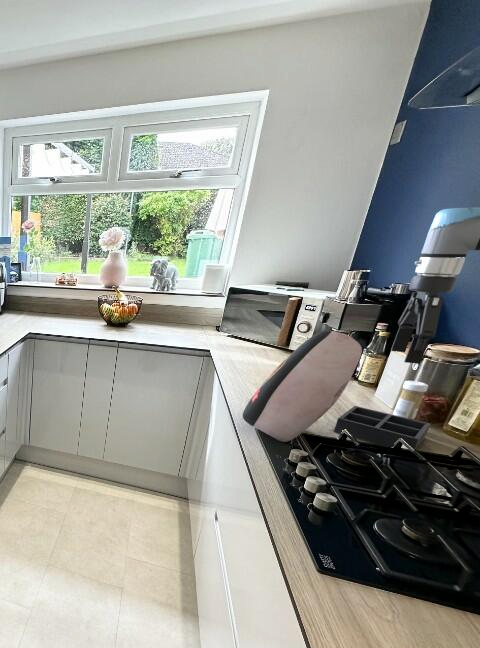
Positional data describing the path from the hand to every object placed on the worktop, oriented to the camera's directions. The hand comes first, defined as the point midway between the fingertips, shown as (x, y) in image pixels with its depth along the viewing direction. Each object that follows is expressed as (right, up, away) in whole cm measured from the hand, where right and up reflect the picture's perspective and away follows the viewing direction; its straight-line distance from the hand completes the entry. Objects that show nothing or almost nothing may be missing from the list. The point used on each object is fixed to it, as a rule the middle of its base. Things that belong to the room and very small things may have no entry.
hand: (404, 357), depth 107 cm
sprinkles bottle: (+8, -20, +9) cm, 23 cm away
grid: (-4, -22, +3) cm, 22 cm away
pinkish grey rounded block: (-29, -22, +5) cm, 36 cm away
